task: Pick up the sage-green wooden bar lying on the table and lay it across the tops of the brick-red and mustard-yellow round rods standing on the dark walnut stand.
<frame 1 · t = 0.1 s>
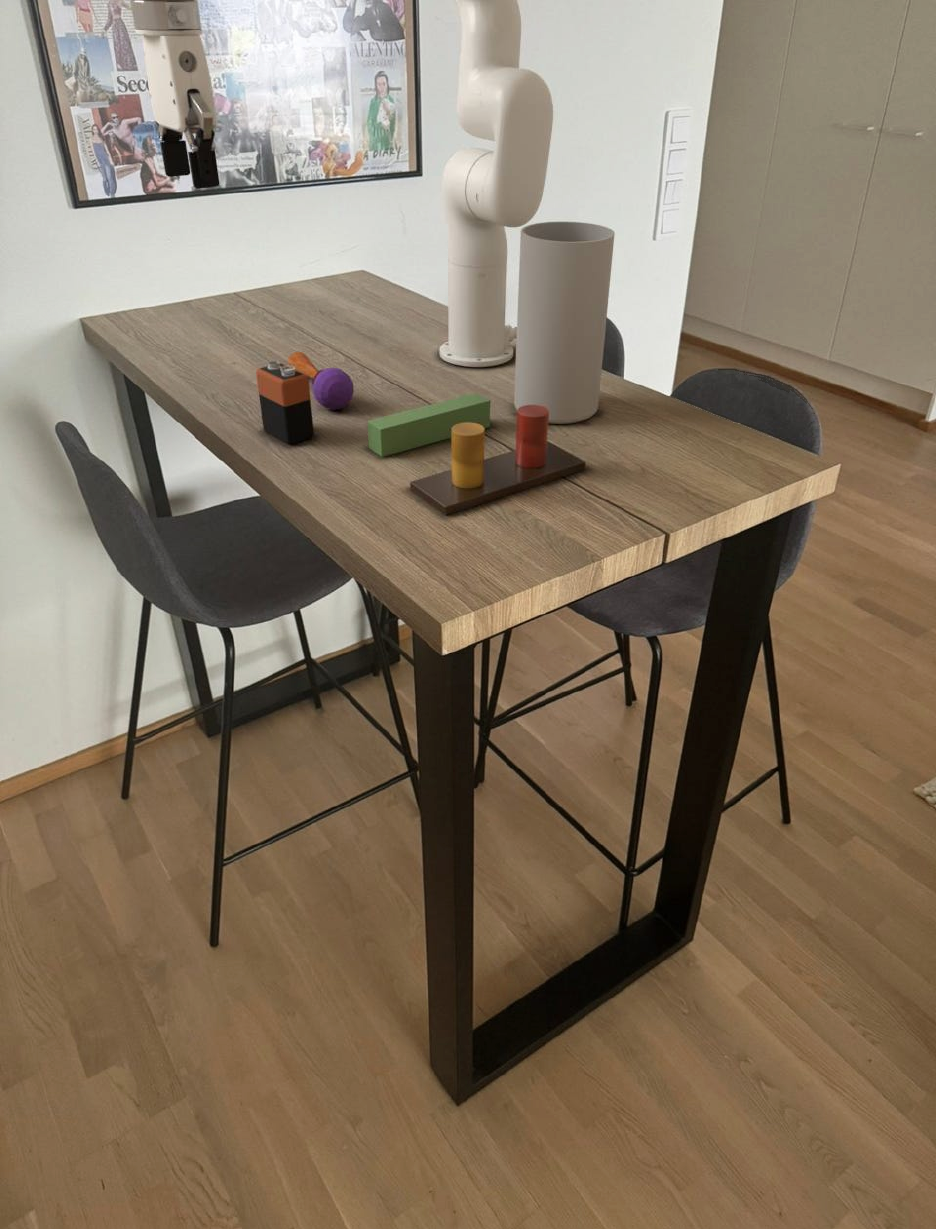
hand: (192, 181, 114), 31 cm above the table, tool pointing down, fingers open, 9 cm apart
rod stand: (499, 479, 114), on the table
green bar: (431, 437, 125), on the table
cylinder vase: (555, 410, 134), on the table
kendama: (319, 393, 139), on the table
battery: (289, 436, 126), on the table
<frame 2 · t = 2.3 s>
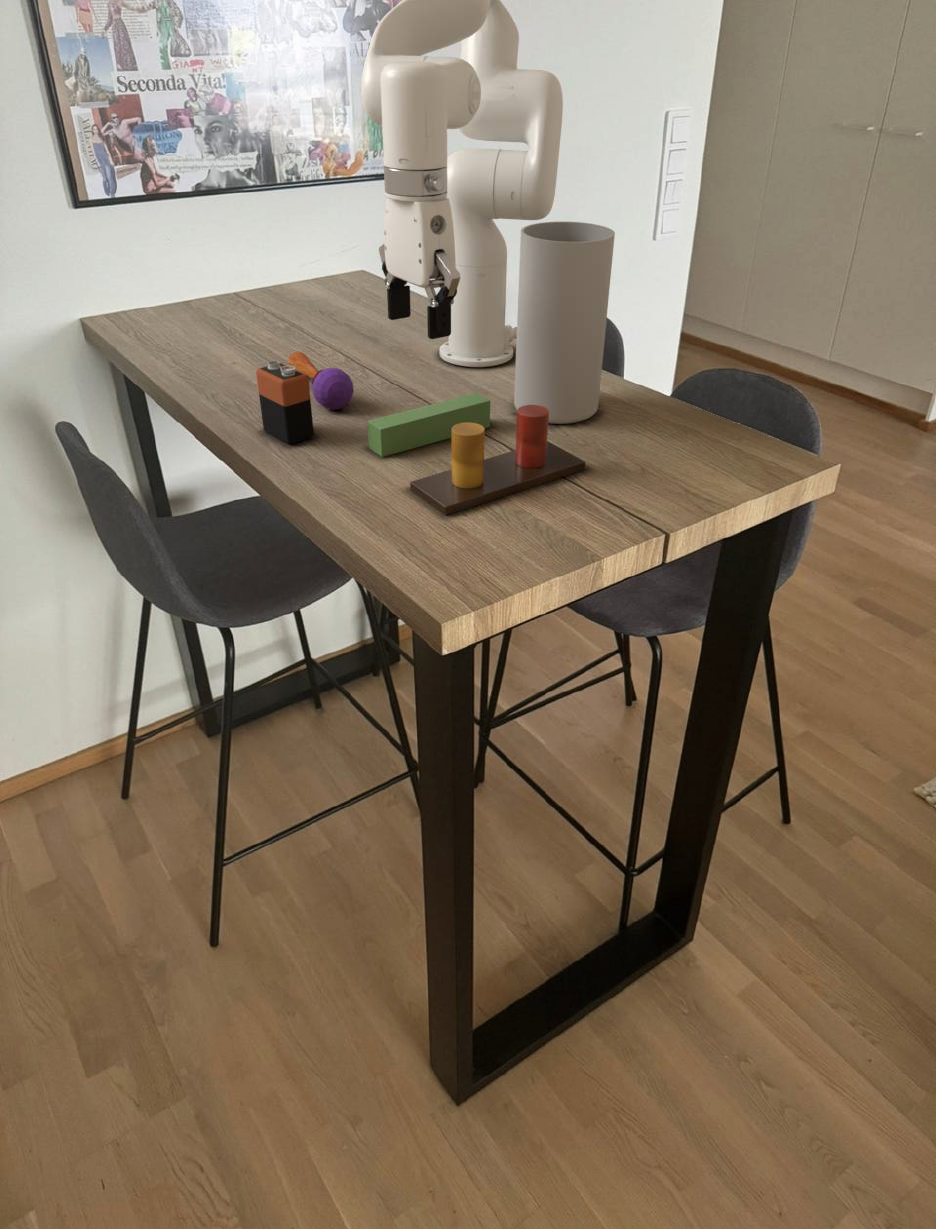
hand: (418, 327, 116), 15 cm above the table, tool pointing down, fingers open, 9 cm apart
nothing on the table moved.
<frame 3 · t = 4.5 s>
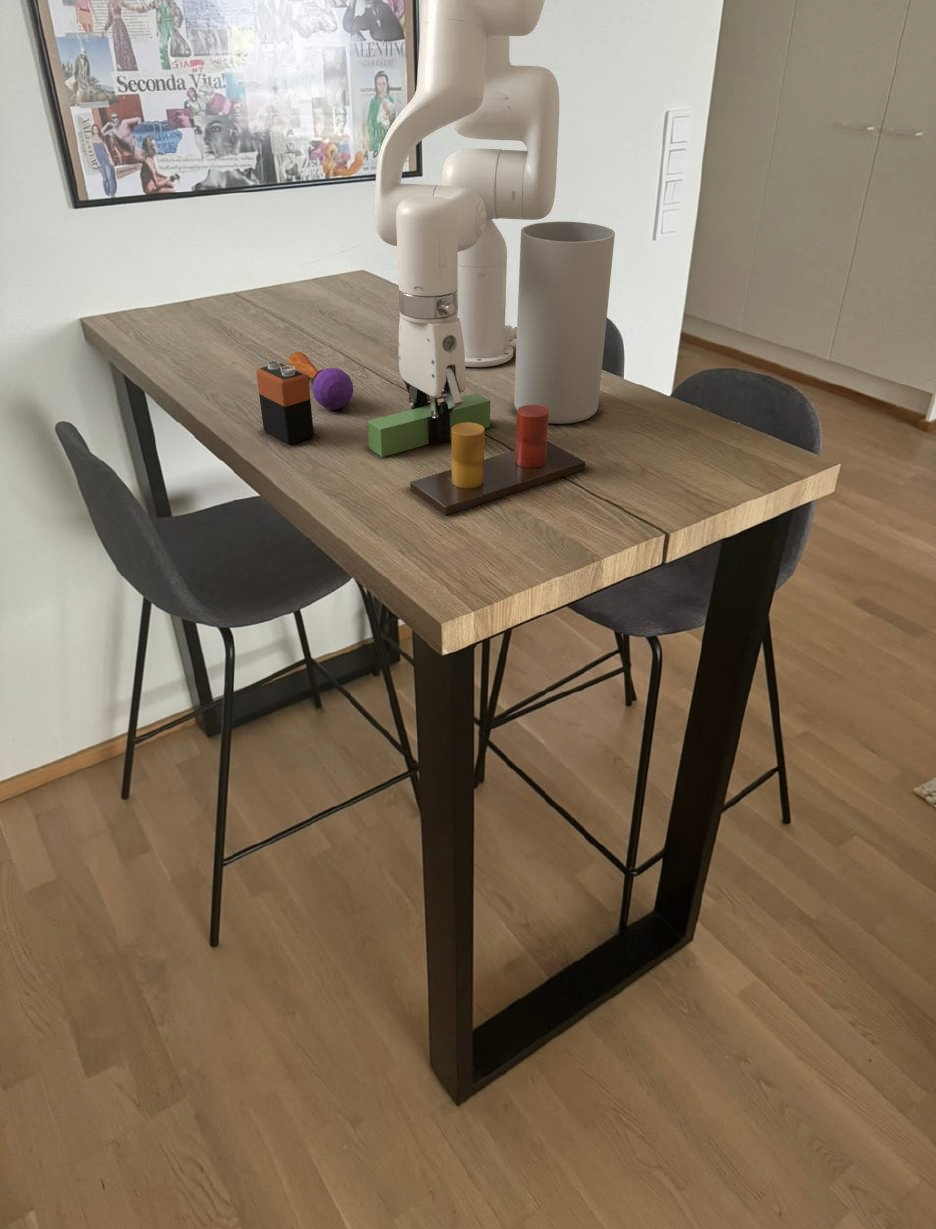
hand: (430, 435, 125), 0 cm above the table, tool pointing down, fingers closed on green bar, 3 cm apart
green bar: (431, 437, 125), on the table, touching gripper
everything else where it was.
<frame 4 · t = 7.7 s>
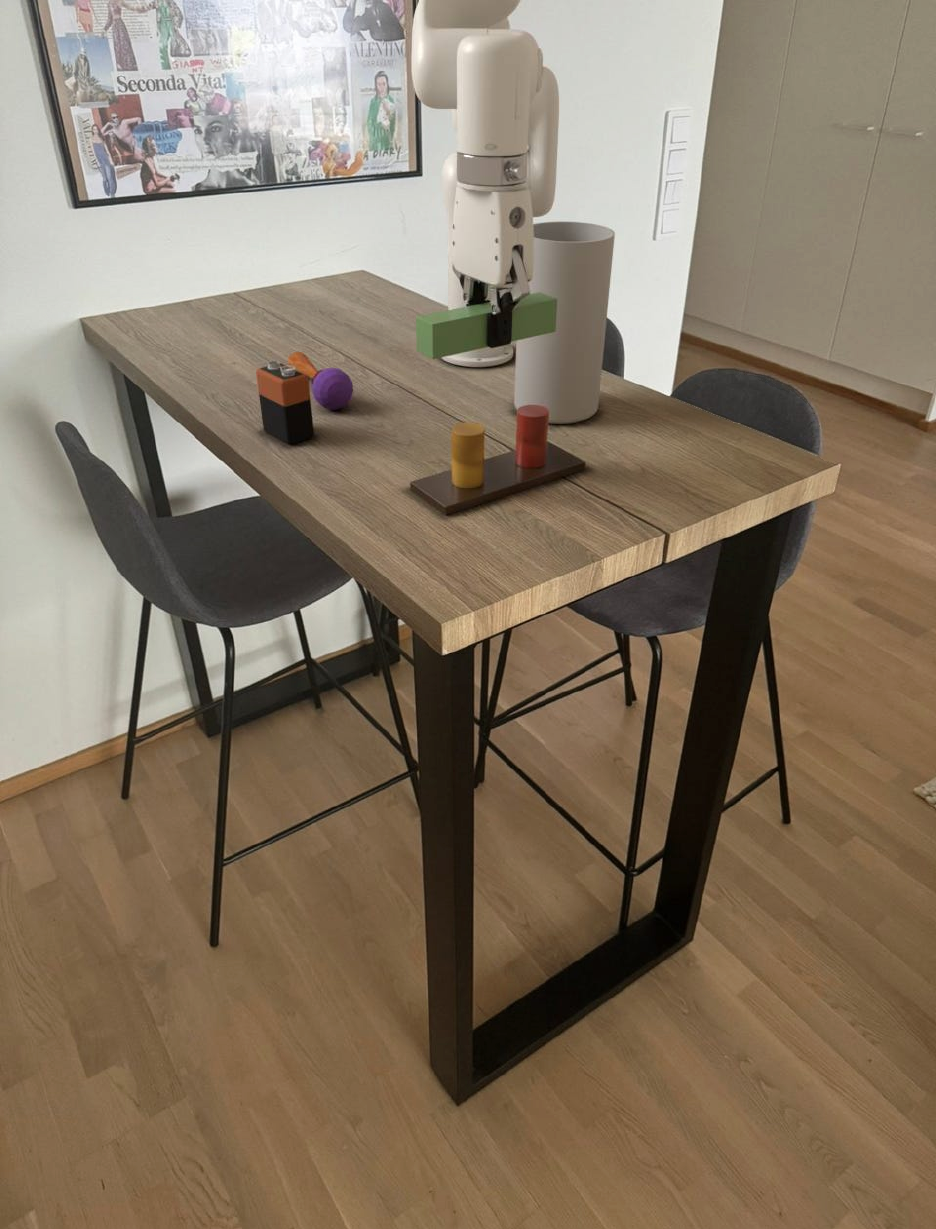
hand: (488, 339, 106), 17 cm above the table, tool pointing down, fingers closed on green bar, 3 cm apart
green bar: (488, 341, 107), point 17 cm above the table, touching gripper
everything else where it was.
when the fingers open (8 cm above the table, at t = 10.7 s): green bar stays where it is, resting on rod stand.
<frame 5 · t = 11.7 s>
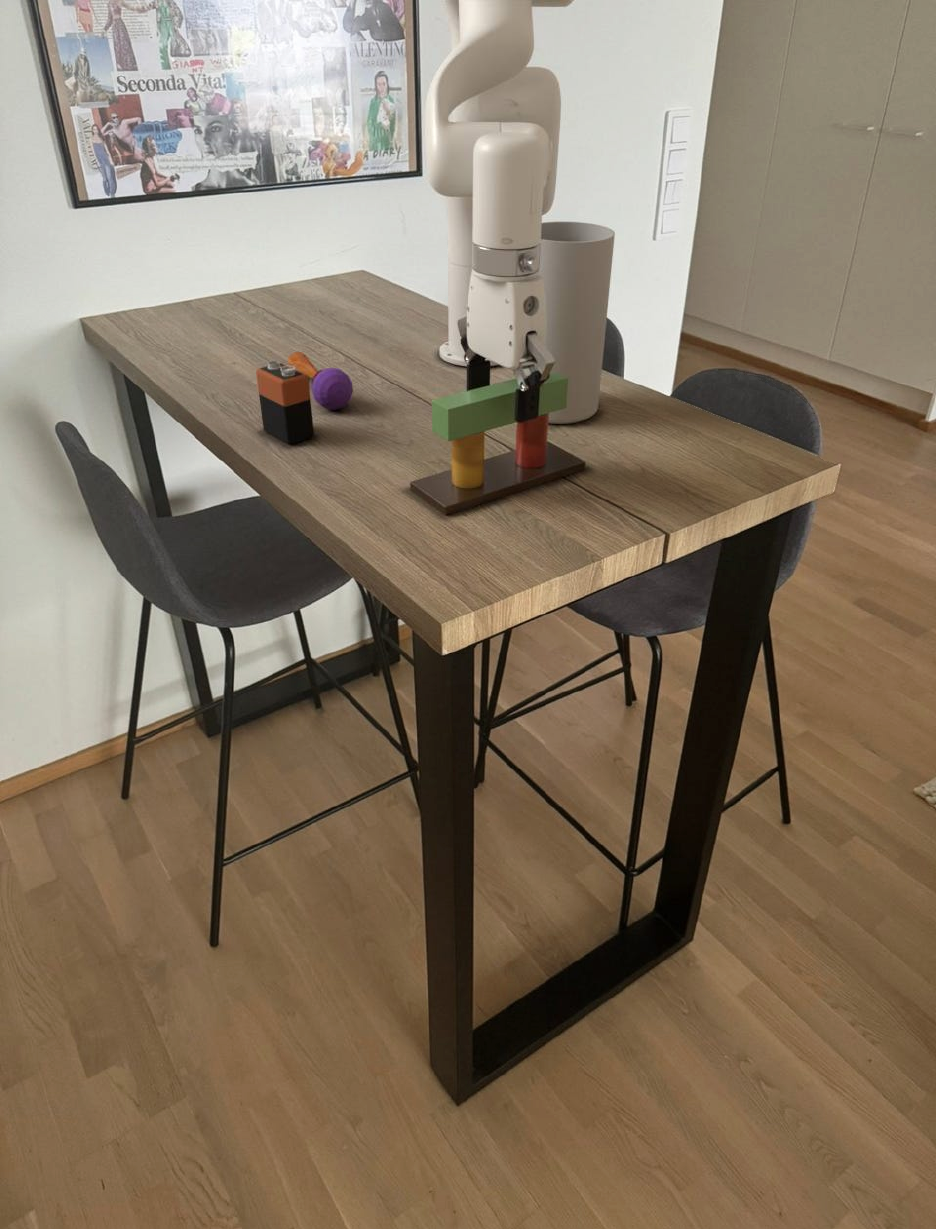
hand: (501, 406, 109), 10 cm above the table, tool pointing down, fingers open, 9 cm apart
green bar: (501, 419, 110), point 8 cm above the table, touching rod stand
everything else where it was.
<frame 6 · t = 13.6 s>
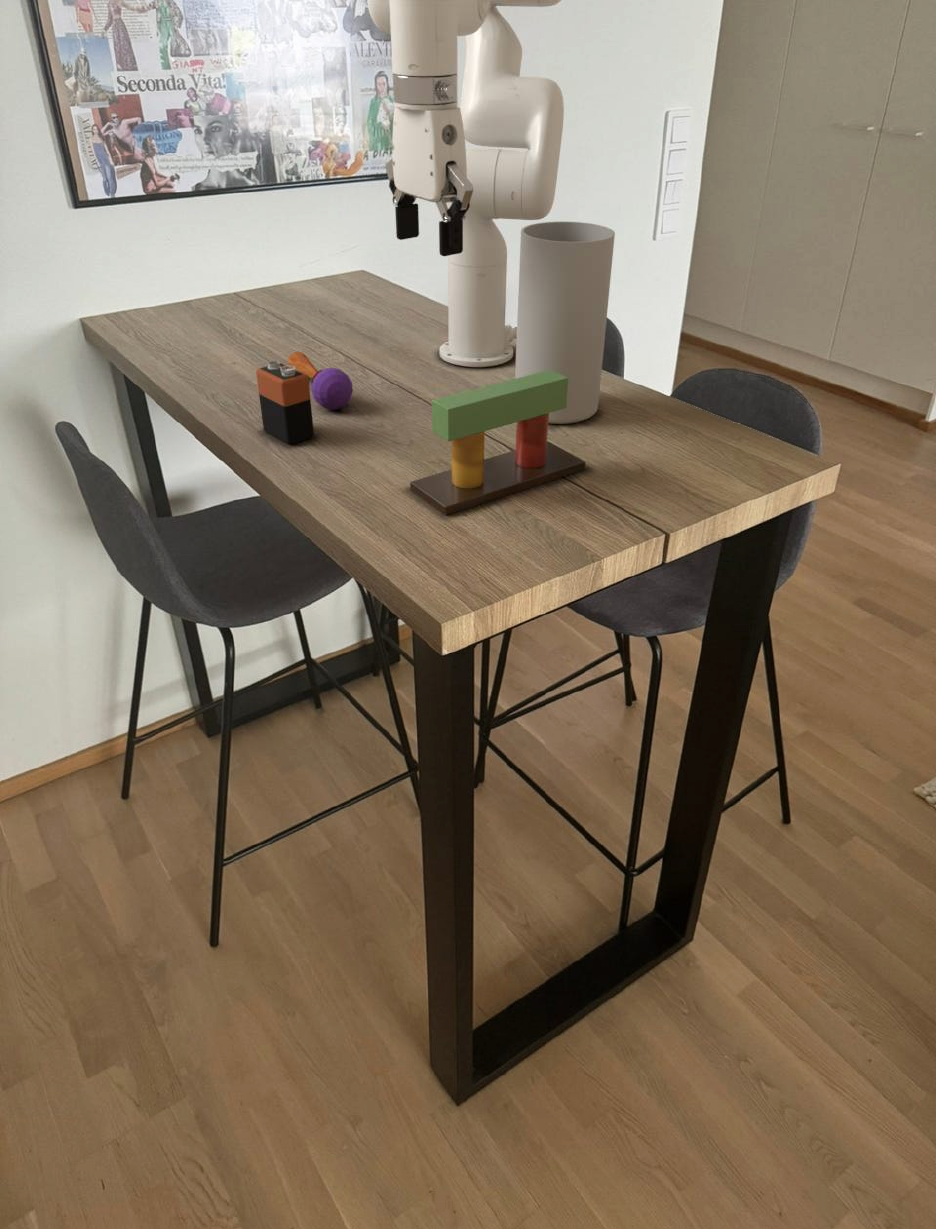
hand: (429, 246, 114), 25 cm above the table, tool pointing down, fingers open, 9 cm apart
nothing on the table moved.
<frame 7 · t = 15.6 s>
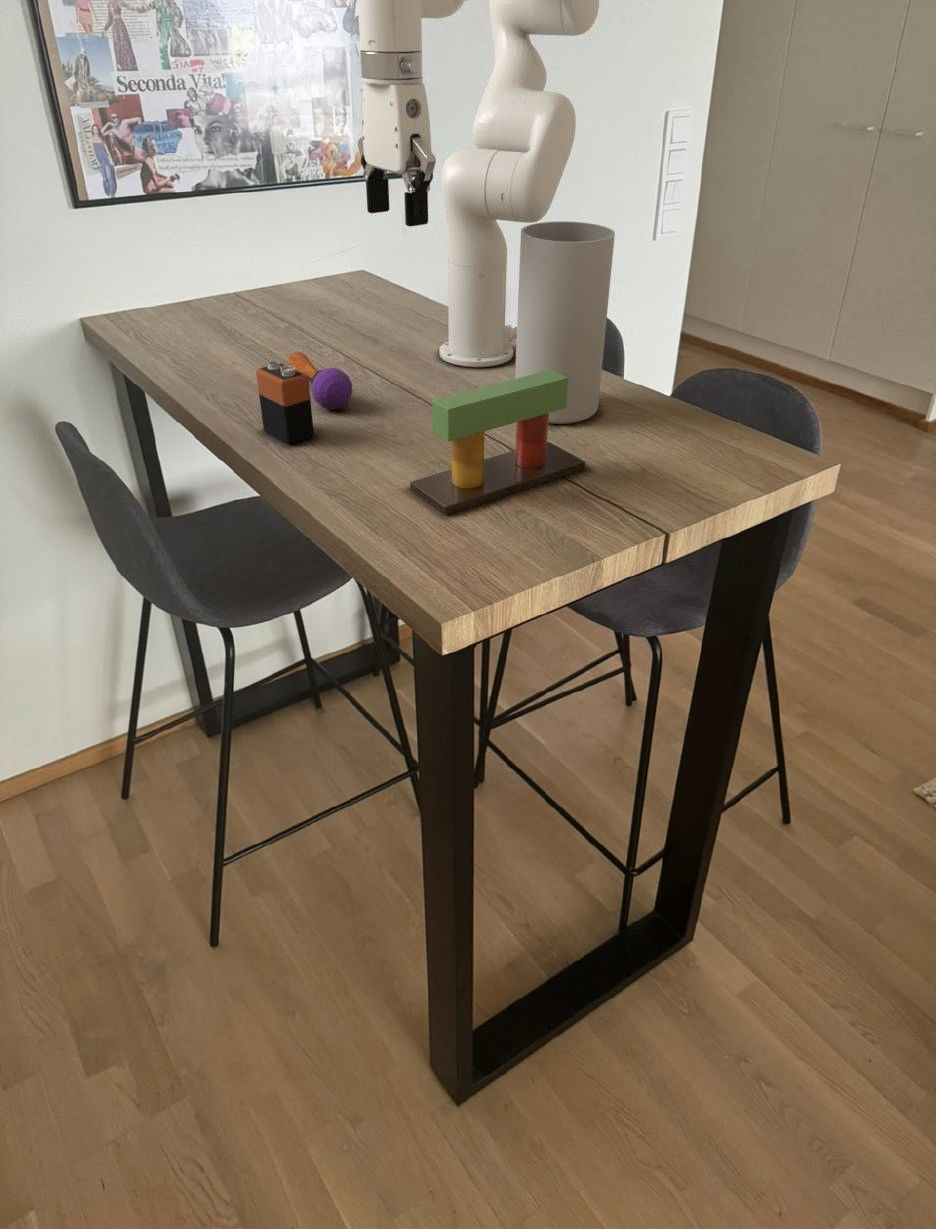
hand: (397, 218, 119), 26 cm above the table, tool pointing down, fingers open, 9 cm apart
nothing on the table moved.
at the end: green bar 0.1 cm off-centre on the rod stand, point 8.2 cm above the rod stand's base; green bar touching rod stand; the gripper is holding nothing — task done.
